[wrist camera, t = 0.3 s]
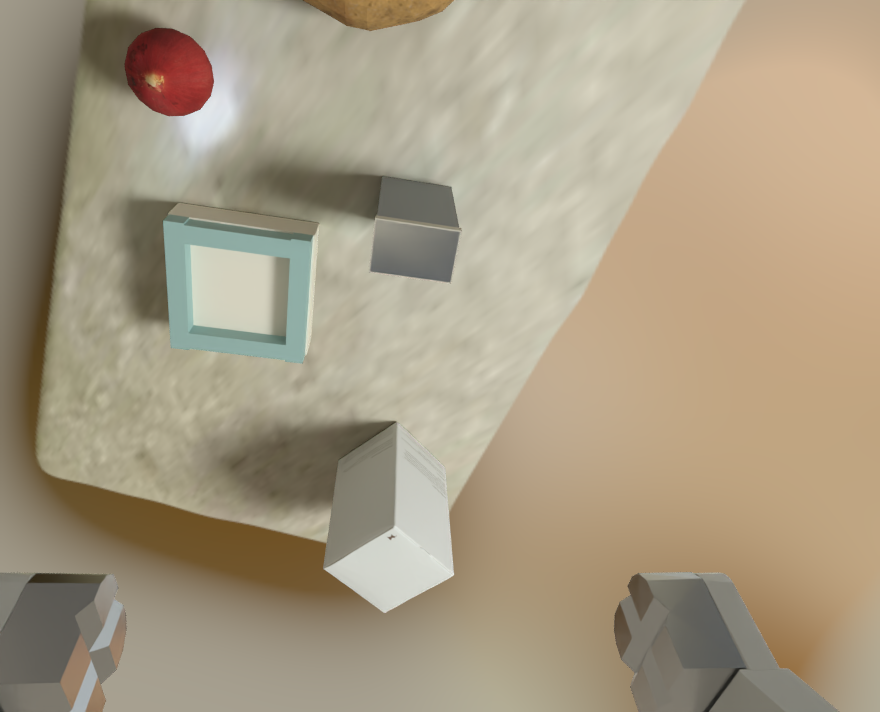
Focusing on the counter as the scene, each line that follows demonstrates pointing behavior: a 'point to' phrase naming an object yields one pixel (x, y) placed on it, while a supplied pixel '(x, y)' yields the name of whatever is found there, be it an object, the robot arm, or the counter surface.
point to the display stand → (240, 282)
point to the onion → (169, 72)
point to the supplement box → (390, 520)
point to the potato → (379, 11)
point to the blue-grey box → (415, 231)
